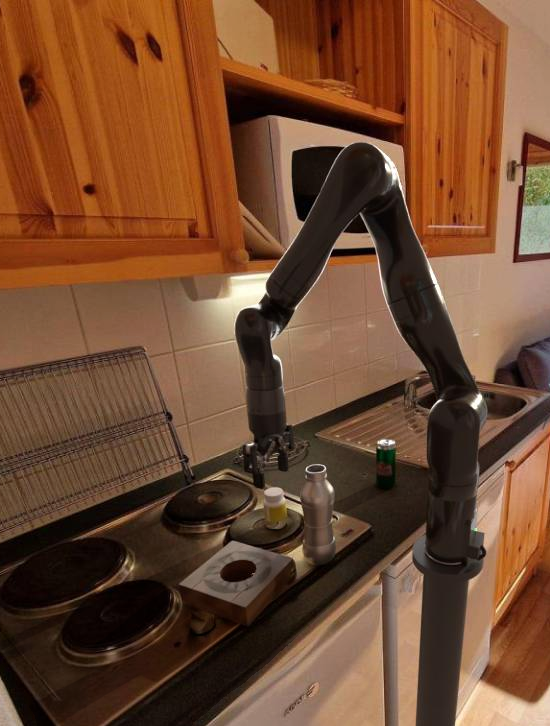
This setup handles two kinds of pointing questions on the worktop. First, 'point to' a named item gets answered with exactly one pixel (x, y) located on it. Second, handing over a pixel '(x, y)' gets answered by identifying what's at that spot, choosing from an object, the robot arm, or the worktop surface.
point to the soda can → (386, 463)
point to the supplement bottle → (274, 505)
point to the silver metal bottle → (317, 516)
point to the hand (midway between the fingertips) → (272, 478)
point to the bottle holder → (237, 598)
